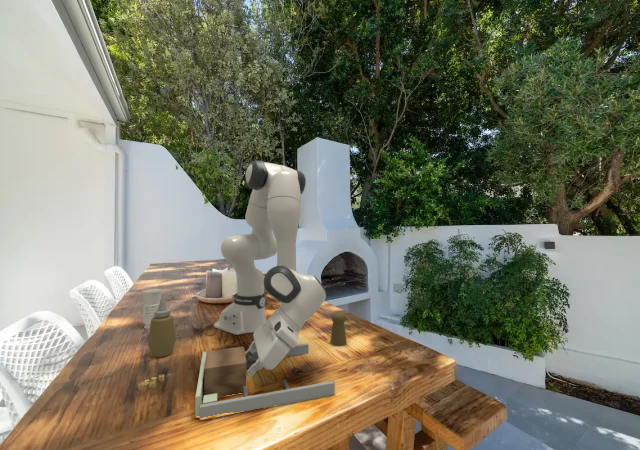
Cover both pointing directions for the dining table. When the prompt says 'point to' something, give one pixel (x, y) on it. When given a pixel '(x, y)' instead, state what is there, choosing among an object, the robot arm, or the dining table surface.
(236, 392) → the walnut block
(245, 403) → the grey u-shaped frame
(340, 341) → the olive pawn
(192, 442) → the dining table surface
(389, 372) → the dining table surface
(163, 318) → the squeeze bottle
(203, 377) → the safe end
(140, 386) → the dice set
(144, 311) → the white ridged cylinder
